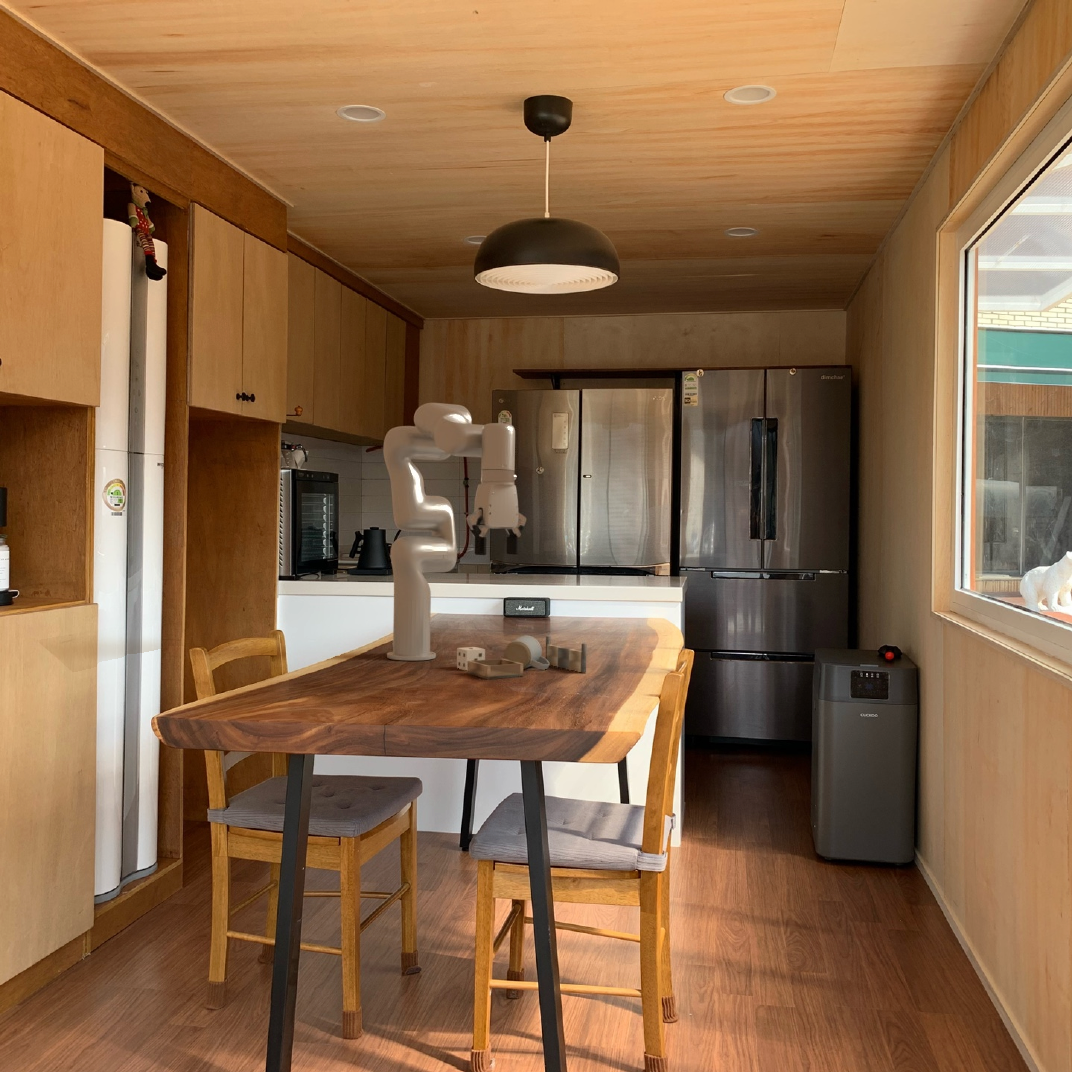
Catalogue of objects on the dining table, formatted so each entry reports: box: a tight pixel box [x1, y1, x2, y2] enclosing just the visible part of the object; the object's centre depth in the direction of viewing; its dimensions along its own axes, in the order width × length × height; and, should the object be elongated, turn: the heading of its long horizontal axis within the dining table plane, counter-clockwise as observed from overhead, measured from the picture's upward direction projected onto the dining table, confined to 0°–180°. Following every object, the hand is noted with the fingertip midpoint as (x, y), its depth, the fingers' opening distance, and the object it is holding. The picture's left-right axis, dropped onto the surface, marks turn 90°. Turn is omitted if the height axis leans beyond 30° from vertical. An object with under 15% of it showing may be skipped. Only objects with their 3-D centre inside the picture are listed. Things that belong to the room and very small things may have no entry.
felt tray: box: [466, 658, 524, 680], centre depth 244 cm, size 10×10×3 cm
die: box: [456, 646, 486, 671], centre depth 254 cm, size 5×5×5 cm
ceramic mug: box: [504, 634, 550, 671], centre depth 256 cm, size 11×8×8 cm
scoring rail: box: [545, 635, 588, 674], centre depth 257 cm, size 17×1×7 cm, turn 32°
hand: (496, 554), depth 235 cm, fingers open, 9 cm apart
